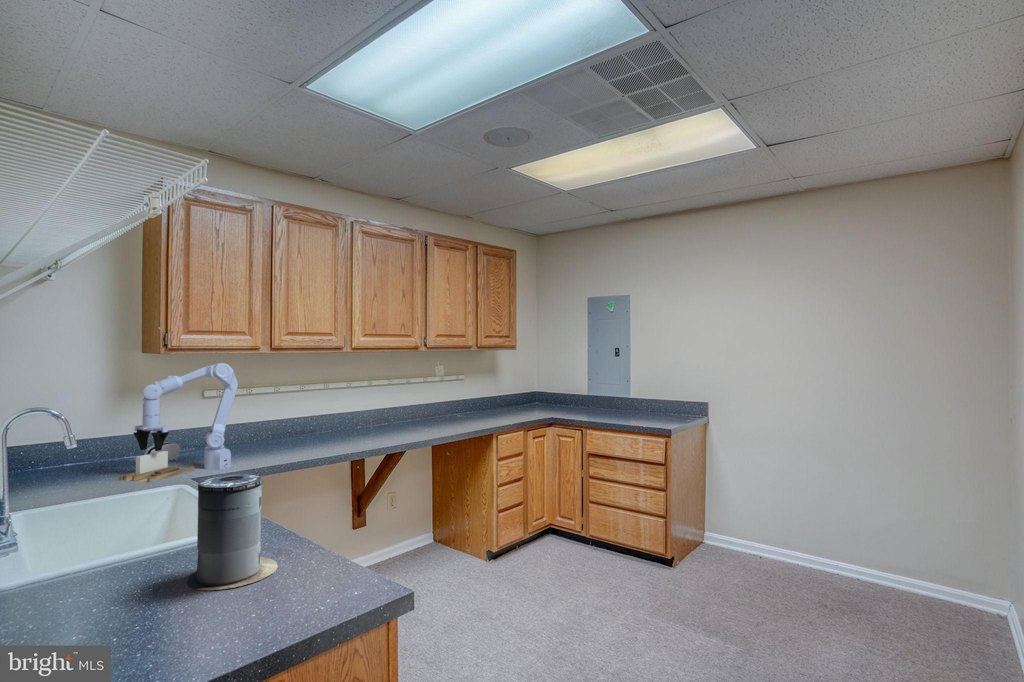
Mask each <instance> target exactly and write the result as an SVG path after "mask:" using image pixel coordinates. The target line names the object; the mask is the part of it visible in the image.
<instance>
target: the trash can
mask: <svg viewBox="0 0 1024 682" xmlns="http://www.w3.org/2000/svg"><path fill="white" fill-rule="evenodd" d="M263 483H264V479H263V477H262V476H261V475H258V474H231V475H222V476H216V477H211V478H207V479H204V480H202V481H199V483H198V484H197V495H198V496H197V541H196V543H197V544H196V546H197V562H196V570H195V571H194V572H192V573H191V574H190V575H189V576H188V577H187V579H186V585H187V586H188V587H189V588H192V589H194V590H199V591H214V590H215V591H217V590H228V589H233V588H237V587H243V586H246V585H250V584H252V583H256V582H258V581H261V580H263V579H266V578H267V577H269V576H271V575H272V574H273V573H275V572H276V571H277V569H278V563H277V561H275V560H274V559H272V558H269V557H264V556H261V544H262V543H261V541H262V540H261V539H262V538H261V535H262V534H261V532H262V528H261V525H262V496H263V495H262V487H263V486H262V485H263Z"/></svg>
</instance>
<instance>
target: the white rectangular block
mask: <svg viewBox="0 0 1024 682" xmlns="http://www.w3.org/2000/svg"><path fill="white" fill-rule="evenodd" d="M168 465H169V461H168V451H162V452H157V453H152V454H147V455H144V454H143V455H138V456H136V457H135V472H136V475H137V474H141V473H145V472H149V471H153V470H158V469H162V468H166V467H168Z"/></svg>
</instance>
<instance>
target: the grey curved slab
mask: <svg viewBox="0 0 1024 682" xmlns="http://www.w3.org/2000/svg"><path fill="white" fill-rule="evenodd" d="M180 448H181V446H180V445H179V444H178V443H175V442H170V441H164V443H163V446H162V449H161V450H160V451H155V444H152V446H149V447H147V449H145V452H144V453H143V455H147V454H152V453H157V452H162V451H168V462H170V461H169V460H171V461H174V460H173V459H175V460H177V459H178V458H179V454H180ZM176 458H177V459H176Z"/></svg>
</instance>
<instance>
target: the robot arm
mask: <svg viewBox="0 0 1024 682" xmlns="http://www.w3.org/2000/svg"><path fill="white" fill-rule="evenodd" d="M204 377H211V378H213V377H215V378H216V379H218V380H219V381H220V382H221V384H222V386H224V388H223V391H222V394H221V396H220V397H221V398H220V400H219V403H218V407H217V409H216V414H215V415H214V419H213V422H212V425H211V427H210V429H209V431H208V432H207V433H206V435H205V437H204V441H205V442H206V446H204V448H203V449H204V455H203V456H204V457H203V461H204V464H203V466H204V467H203V469H204V470H208V471H211V470H215V471H217V470H218V471H221V470H222V471H223V470H224V469H228V468H231V466H232V464H231V463H232V453H231V450H230V449H229V448H226V447H225V444H224V443H225V431H226V425H227V422H228V420H229V419H228V418H229V417H230V413H231V409H232V406H233V403H234V400H235V396H236V393H237V392H238V391H237V390H238V386H239V383H238V379H237V377H236V374H235V370H234V369H233V368H232V367H231V366H230V365H229V364H227V363H224V362H223V363H222V362H218V363H215V364H210V365H207V366H203V367H201V368H199V369H195V370H193V371H192V372H189V373H186V374H185V375H182V376H177V375H168V376H167V378H164V379H161V380H158V381H157V380H156V381H154V384H152V383H151V384H148V385H146V386H145V387H144V389H143V391H142V395H143V400H142V402H143V403H142V423H141V424H142V425H134V432H133V436H134V437H135V439H136V441H137V443H138V447H139V450H140V451H143V450H147V448H148V441H149V436H150V433H151V432H153V433H151V436H152V438H153V442H154V444H153V445H155V451H160V450H161V449H162V446H163V443H164V442H166V438H167V437H168V435H169V426H164V425H161V399H160V398H161V395H163V396H166V395H167V394H168V395H169V394H171V393H172V392H175V391H178V390H181V389H182V387H183V385H184V384H187V383H190V382H192V381H195V380H198V379H201V378H204Z"/></svg>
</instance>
